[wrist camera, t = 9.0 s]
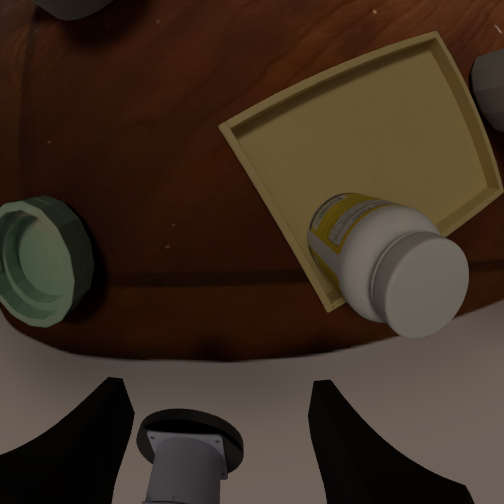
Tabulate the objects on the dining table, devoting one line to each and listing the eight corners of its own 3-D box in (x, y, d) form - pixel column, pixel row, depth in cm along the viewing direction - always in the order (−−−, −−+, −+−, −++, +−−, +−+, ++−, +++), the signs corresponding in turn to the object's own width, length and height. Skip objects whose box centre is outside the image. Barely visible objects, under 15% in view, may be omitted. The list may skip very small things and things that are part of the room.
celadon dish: (105, 308, 20) (86, 331, 17) (23, 303, 20) (0, 321, 17) (89, 189, 18) (62, 194, 15) (4, 201, 18) (-25, 208, 14)
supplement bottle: (377, 273, 20) (460, 348, 10) (302, 272, 20) (351, 363, 10) (387, 194, 18) (492, 224, 9) (308, 187, 18) (377, 212, 9)
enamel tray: (320, 300, 21) (327, 313, 19) (219, 130, 17) (217, 126, 16) (488, 188, 19) (504, 191, 17) (423, 38, 16) (436, 30, 14)
